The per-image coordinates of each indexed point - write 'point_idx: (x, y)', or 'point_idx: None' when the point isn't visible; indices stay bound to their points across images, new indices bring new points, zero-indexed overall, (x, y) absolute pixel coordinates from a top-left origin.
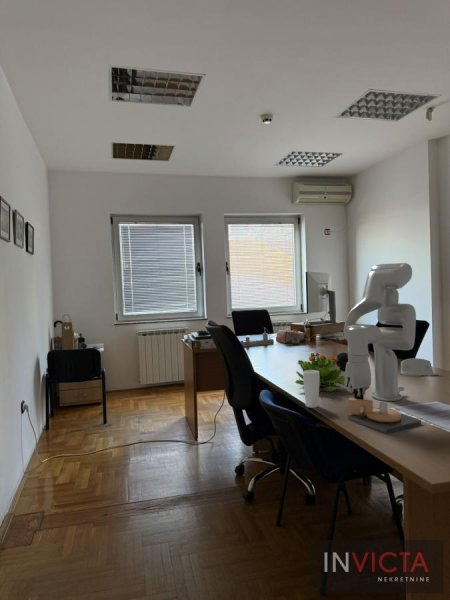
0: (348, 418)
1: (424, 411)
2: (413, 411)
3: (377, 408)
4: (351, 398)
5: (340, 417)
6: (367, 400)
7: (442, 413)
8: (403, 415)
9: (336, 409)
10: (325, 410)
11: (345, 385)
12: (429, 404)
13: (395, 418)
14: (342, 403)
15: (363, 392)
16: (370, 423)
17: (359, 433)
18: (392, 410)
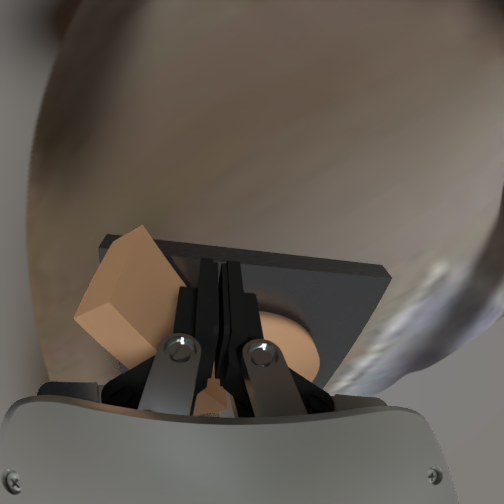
0: (105, 239)
1: (432, 342)
2: (423, 329)
3: (364, 277)
4: (120, 318)
5: (90, 181)
6: (198, 398)
7: (426, 366)
8: (322, 377)
9: (216, 34)
10: (130, 6)
11: (10, 417)
12: (491, 309)
13: (218, 412)
14: (381, 6)
15: (245, 408)
16: (121, 365)
17: (55, 348)
18: (315, 373)
